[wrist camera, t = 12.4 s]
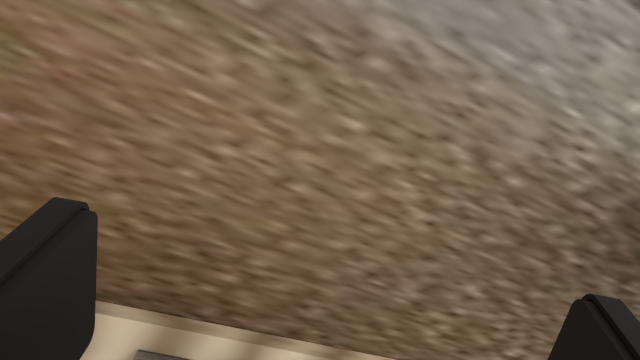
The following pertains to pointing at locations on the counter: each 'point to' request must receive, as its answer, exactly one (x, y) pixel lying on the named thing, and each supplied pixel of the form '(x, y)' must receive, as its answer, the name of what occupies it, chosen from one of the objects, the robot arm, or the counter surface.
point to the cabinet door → (193, 340)
